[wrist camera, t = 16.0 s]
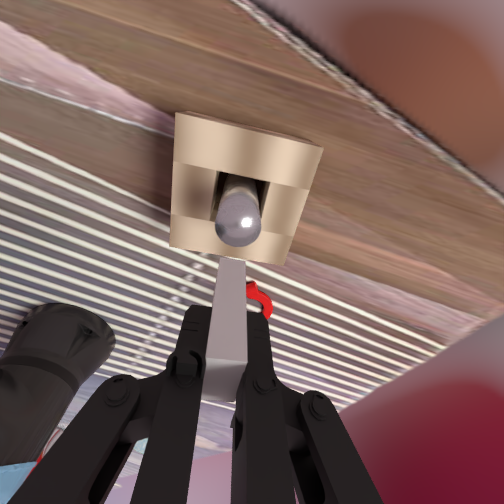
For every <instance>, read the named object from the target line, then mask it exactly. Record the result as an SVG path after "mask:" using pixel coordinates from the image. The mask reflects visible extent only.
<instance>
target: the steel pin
mask: <svg viewBox="0 0 504 504" xmlns="http://www.w3.org/2000/svg"><path fill="white" fill-rule="evenodd" d="M215 231H216V234H217V236H218V237H219V239H220V240H221V241H223V242H224V243H225V244H227V245H229V246H233V247H244V246H248V245H250V244H252V243H253V242H254V241H255V240H256V239H257V238H258V237H259V235H260V232H261V218H260V211H259V204H258V196H257V189H256V182H255V180H254V178H250V177H245V176H240V175H236V174H230V175H229V176H228V177H227V179H226V181H225V185H224V189H223V193H222V197H221V201H220V204H219V208H218V212H217V216H216V220H215Z"/></svg>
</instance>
